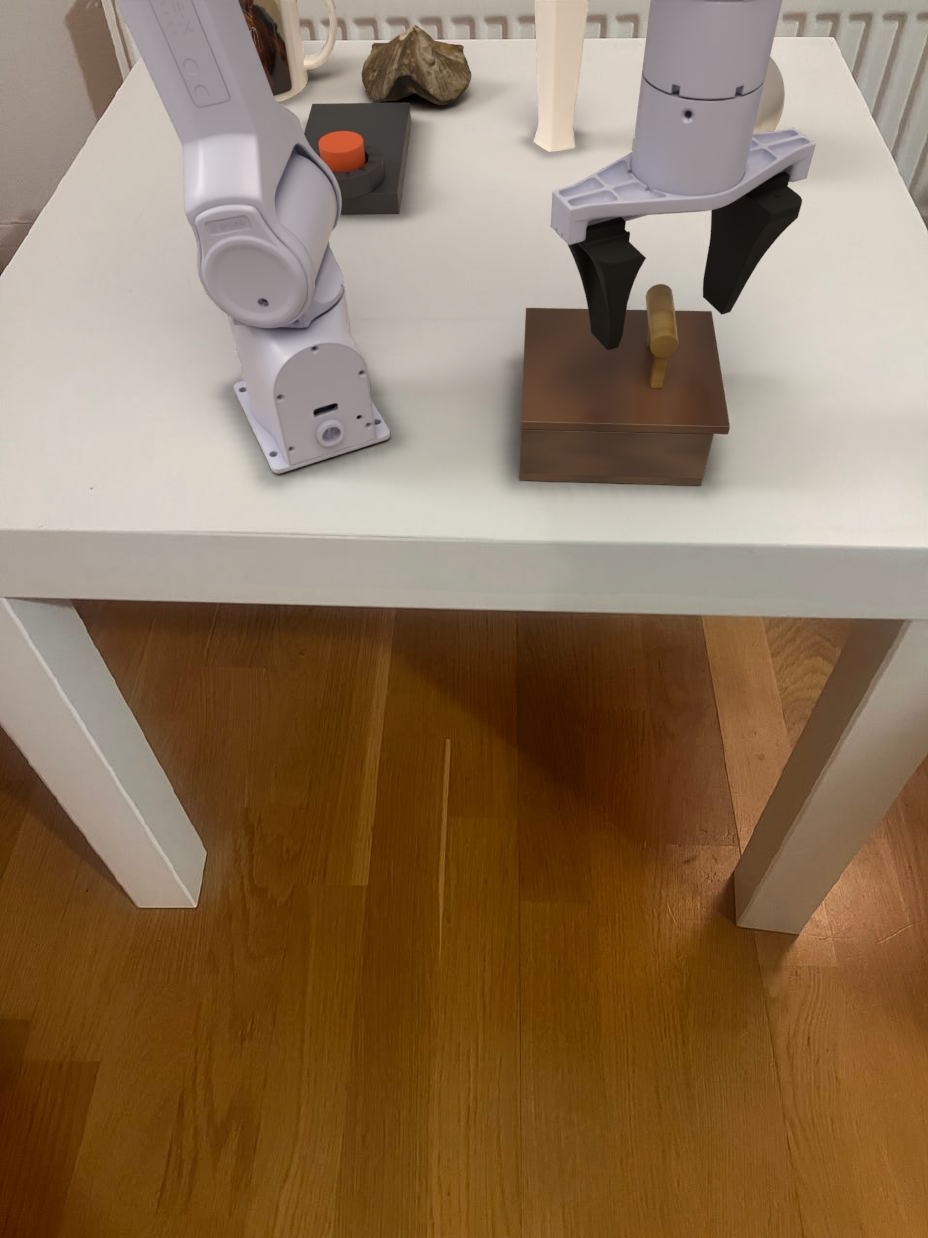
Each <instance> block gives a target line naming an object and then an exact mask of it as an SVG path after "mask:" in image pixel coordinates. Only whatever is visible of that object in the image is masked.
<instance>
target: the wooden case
mask: <svg viewBox="0 0 928 1238" xmlns="http://www.w3.org/2000/svg"><path fill="white" fill-rule="evenodd" d="M714 435H715V434H693V433H655V432H617V431H579V430H541V429H521V428H520V436H519V439H520V440H519V467H518V480H519V481H529V482H535V481H537V482H568V483H569V482H570V483H599V484H601V483H603V484H630V485H631V484H635V485H638V484H639V485H665V486H667V485H670V486H702V485H703V480H704V476H705V471H706V468H707V464H708V460H709V457H710V452H711V448H712V443H713V440H714Z"/></svg>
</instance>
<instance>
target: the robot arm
mask: <svg viewBox="0 0 928 1238" xmlns="http://www.w3.org/2000/svg"><path fill="white" fill-rule="evenodd" d="M115 2H116V4H117V7H118V9H119V10H120V13H121V15H122V18H123V20H124V21H125V24H126V26H127V28H128V30H129V32H130V35H131V37H132V39H133V41H134V43H135V45H136V48H137V50H138V53H139V55H140V56H141V59H142V61H143V63H144V65H145V68H146V69H147V72H148V74H149V77H150V78H151V80H152V83H153V85H154V87H155V89H156V92H157V93H158V94H157V95H158V96H159V98H160V100H161V102H162V104H163V107H164V109H165V111H166V113H167V115H168V118H169V120H170V122H171V124H172V127H173V128H174V131H175V133H176V135H177V137H178V139H179V142H180V144H181V147H182V168H183V169H182V171H183V173H182V176H183V178H182V179H183V180H182V181H183V209H184V215H185V217H186V219H187V222H188V223H189V225H190V227H191V230H192V232H193V235H194V238H195V243H196V248H197V255H196V269H197V275H198V279H199V281H200V284H201V286H202V288H203V290H204V292H205V293H206V295H207V296H208V298H209V299H210V301H212V303H213V304H214V305H215V306H216V307H217V308H219V309H220V310H221V311H222V312H223V313H224V314H226V315H227V318H228V323H229V326H230V330H231V334H232V339H233V342H234V346H235V350H236V354H237V357H238V362H239V365H240V368H241V372H242V376H243V380H239V381H237V382H235V383H234V385H233V390H234V393H235V395H236V397H237V399H238V402H239V404H240V407H241V408H242V411H243V412H244V415H245V417H246V419H247V422H248V424H249V425H250V428H251V430H252V432H253V434H254V436H255V438H256V440H257V442H258V444H259V446H260V449H261V451H262V453H263V455H264V457H265V460H266V461H267V463H268V467H269V468H270V470H271V472H272V473H274V474H283V473H287V472H290V471H292V470H296V469H299V468H302V467H306V466H309V465H311V464H315V463H318V462H321V461H324V460H327V459H330V458H333V457H337V456H340V455H343V454H346V453H347V454H348V453H350V452H352V451H355V450H360V449H361V448H362V449H363V448H365V447H369V446H370V445H374V444H378V443H382V442H385V441H387V440H389V439H390V437H391V429H390V428H389V426H388V425H387V423H386V421H385V420H384V418H383V416H382V415H381V413H380V411H379V410H378V408H377V407H376V405H375V403H374V401H373V400H372V395H371V387H370V379H369V372H368V371H369V370H368V367H367V363H366V360H365V358H364V355H363V354H362V352H361V351H360V349H359V347H358V345H357V344H356V341H355V340H354V338H353V336H352V330H351V323H350V322H351V321H350V315H349V307H348V302H347V295H346V288H345V287H346V286H345V278H344V274H343V270H342V268H341V266H340V264H339V263H338V260H337V258H335V257H336V256H335V255H334V253H333V250H332V248H331V244H330V239H331V235H332V232H334V230H335V229H336V227H337V226H338V222H339V220H340V217H341V215H340V214H341V208H342V199H341V193H340V188H339V185H338V182H337V180H336V178H335V176H334V174H333V172H332V171H331V170H330V168H329V167H328V165H327V164H326V163H325V162H324V161H323V160H322V159H321V158H320V157H319V156H318V155H317V154H316V153H315V152H314V150H313V149H312V148H311V146H310V145H309V143H308V141H307V139H306V137H305V135H304V132H305V131H304V130H303V128H302V123H301V121H300V118H299V117H298V116H297V115H296V114H295V113H294V112H293V111H291V109H289V108H287V107H286V106H285V105H283V104H282V103H281V102H277V101H276V100H275V98H274V96H273V94H272V91H271V88H270V85H269V83H268V80H267V77H266V75H265V72H264V69H263V66H262V64H261V61H260V58H259V56H258V53H257V50H256V47H255V45H254V42H253V39H252V37H251V34H250V31H249V28H248V26H247V23H246V20H245V18H244V15H243V12H242V9H241V7H240V4H239V1H238V0H115ZM782 3H783V0H650V3H649V10H648V20H647V28H646V37H645V45H644V51H643V52H644V53H643V59H642V60H643V62H642V70H641V76H640V77H641V78H640V86H639V93H638V100H637V101H638V102H637V108H636V110H637V111H636V118H635V126H634V135H633V138H632V143H631V152H629V153H628V154H625V155H624V156H623V157H620V158H619V159H617V160H615V161H614V162H612V163H610V164H608V165H606V166H604V167H603V168H601V169H599V170H597V171H596V172H593V173H592V174H590V175H589V176H587V177H585V178H583V179H582V180H579V181H578V182H575V183H573V184H570V185H567V186H565V187H561V188H559V189H555V190H553V191H552V193H551V211H550V228H551V229H552V230H553V231H554V232H555V233H556V235H557V236H559V238H560V239H561V240H563V241H564V242H565V244H567V246H568V249H569V251H570V253H571V255H572V258H573V260H574V262H575V265H576V268H577V271H578V275H579V277H580V280H581V283H582V287H583V291H584V296H585V300H586V304H587V309H588V311H589V317H590V325H591V333H592V334H593V335H594V336H595V337H596V338H597V340H598V341H599V342H600V343H601V344H602V345H603V346H604V347H605V348H606V349H607V350H611V349H614V348H617V347H618V346H619V344H620V341H621V338H622V335H623V329H624V323H625V315H626V310H627V308H628V303H629V299H630V296H631V293H632V292H631V291H632V289H633V286H634V283H635V282H636V279H637V276H638V273H640V270H641V267H642V266H643V264H644V262H645V261H646V259H647V257H646V256H645V255H644V254H643V253H642V252H641V251H640V250H639V249H638V248H637V247H636V246H634V245H633V243H632V242H630V237H631V232H630V231H627V230H626V225H627V222H628V221H631V220H632V221H633V220H636V219H640V218H642V217H646V216H655V215H671V214H685V213H701V212H707V211H710V212H711V213H710V214H711V216H710V236H709V243H708V244H709V245H708V250H707V256H706V262H705V267H704V274H703V279H702V298H703V299H704V300H705V301H707V302H708V304H710V305H711V307H713V308H714V309H715V310H716V311H717V312H718V313H719V314H720V315H721V316H722V315H726V314H729V313H731V311H732V310H733V308H734V307H735V305H736V303H737V301H738V299H739V298H740V295H741V293H742V292H743V290H744V289H745V286H746V285H747V283H748V281H749V279H750V277H751V276H752V274H753V273H754V271H755V269H756V267H757V266H758V265H759V263H760V262H761V260H762V258H763V257H764V255H766V253H767V251H768V250H769V249H770V248H771V247H772V246H773V244H774V243H775V242H776V241H777V239H778V238H779V237H780V236H781V235H782V234H783V233H784V231H785V230H786V229H788V228H789V226H791V225H792V224H793V223H794V222H795V221H796V220H797V219H798V218H799V215H800V211H801V208H802V203H803V199H802V196H801V195H800V194H799V193H798V192H796V191H795V190H794V189H792V188H790V187H789V184H790V183H795V182H799V181H803V180H806V179H807V178H808V175H809V171H810V168H811V164H812V160H813V156H814V154H815V153H814V152H815V149H816V145H817V143H816V142H815V141H814V140H813V139H811V138H809V137H808V136H807V135H806V134H804V133H803V132H801V131H800V130H798V129H796V128H795V127H790V128H789V127H788V128H784V129H780V130H775V131H773V132H764V133H753V131H754V127H755V122H756V118H757V113H758V108H759V104H760V99H761V95H762V90H763V85H764V80H765V77H766V73H767V68H768V63H769V59H770V57H771V54H772V49H773V44H774V40H775V35H776V31H777V26H778V22H779V18H780V12H781V8H782Z"/></svg>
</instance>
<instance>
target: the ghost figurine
mask: <svg viewBox="0 0 928 1238" xmlns="http://www.w3.org/2000/svg"><path fill="white" fill-rule="evenodd" d="M785 97H786V93H785V83H784V78H783V74H782V72H781V70H780V68H779V66H778V64H777V63H776V62H775V60H774V59H773V57H772V56H770V59H769V63H768V68H767V73H766V77H765V80H764V85H763V90H762V95H761V99H760V104H759V108H758V113H757V118H756V122H755V127H754V131H753V133H764V132H773V131H776V129H777V128H778V125H779V123H780V121H781V118H782V114H783V112H784V107H785V100H786V99H785Z"/></svg>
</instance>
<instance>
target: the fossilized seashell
mask: <svg viewBox="0 0 928 1238" xmlns="http://www.w3.org/2000/svg"><path fill="white" fill-rule="evenodd" d="M464 48H465V47H464V45H463V44H454V43H448V42H443V41H438V40H435V39H433V38H432V36H431V35H429V34H428V33H427V32H426V30H424V29H422V28H420V26H418V25H417V24H413V25H411V26H410V27H409V28H407V29H406V30H404V31H402V32H401V33H399V34H398V35H397V36H395V37H394V38H392V39H391V40H389V41H388V42H373V43H372V44H371V50H370V53H369V55H368V57H367V58H366V59H365V61H364V63H363V66H362V70H361V82H362V85H363V87H364V90H365V93H366V94H367V95H368V97H369V98H370V99H372V101H374V102H376V103H385V102H396V101H399V100H401V99H405V98H408V97H409V96H410V97H411V96H412V95H414V94H417V95H418V96H419V97H421V98H422V99H425V100H427V101H429V102H430V103H432V104H434V105H438V106H444V105H450V104H451V103H453V102H454V101H456V100H458V98H460V97H461V95H462V94H463V93H464V92H465V91H466V90H467V89H468V88H469V85H470V84H471V81H472V71H471V69H470V66H469V64H468V60H467V57H466V54H464V53H465V52H464V50H465V49H464Z"/></svg>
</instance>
